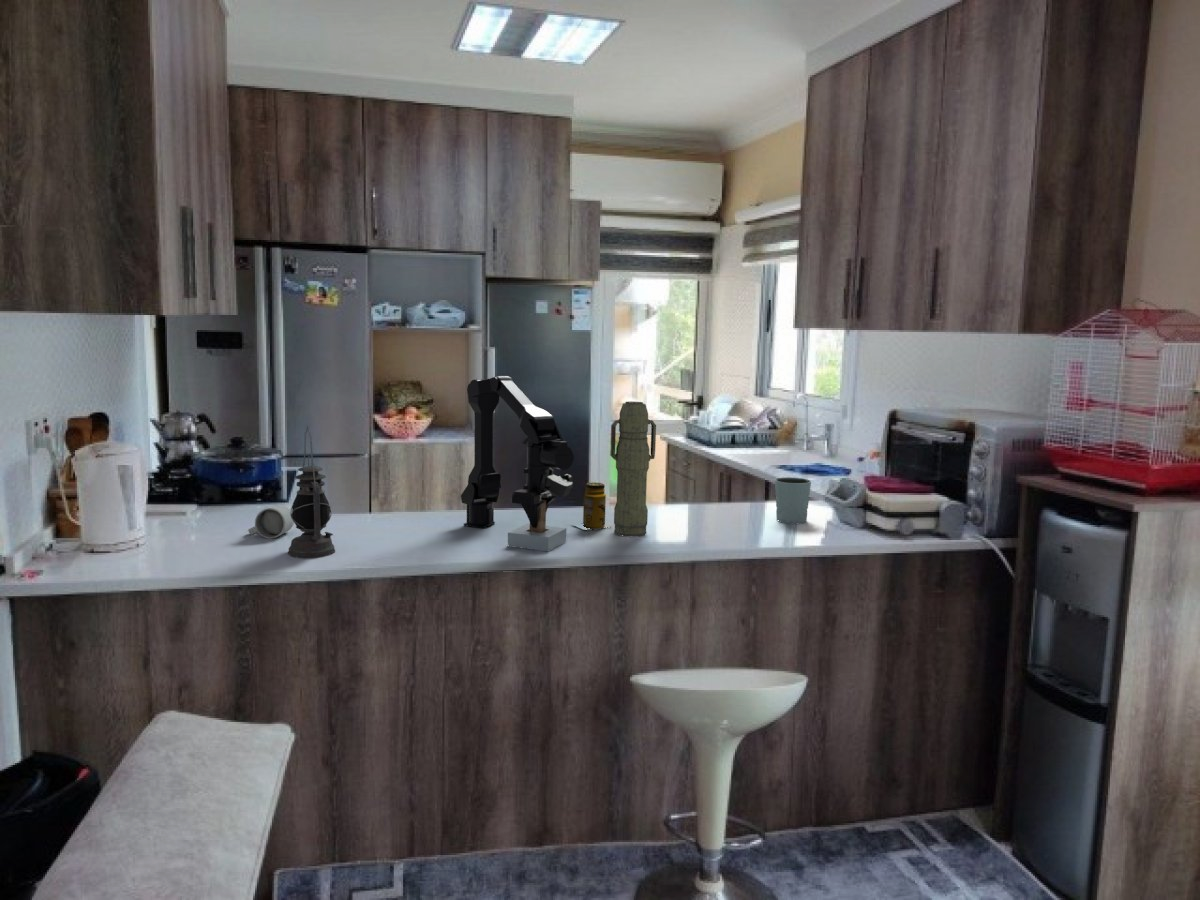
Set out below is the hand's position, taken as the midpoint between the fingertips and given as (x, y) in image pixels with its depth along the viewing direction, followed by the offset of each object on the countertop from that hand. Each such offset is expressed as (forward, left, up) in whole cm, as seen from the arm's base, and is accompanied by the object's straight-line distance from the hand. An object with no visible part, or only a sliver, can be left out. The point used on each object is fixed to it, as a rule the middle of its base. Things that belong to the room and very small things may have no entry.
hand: (537, 526), depth 218 cm
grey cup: (+54, +58, -5) cm, 79 cm away
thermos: (+17, +22, -5) cm, 28 cm away
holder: (0, 0, -4) cm, 4 cm away
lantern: (-44, -31, -5) cm, 54 cm away
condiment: (+5, +24, -5) cm, 25 cm away
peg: (0, 0, -4) cm, 4 cm away
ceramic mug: (-64, -22, -5) cm, 68 cm away
